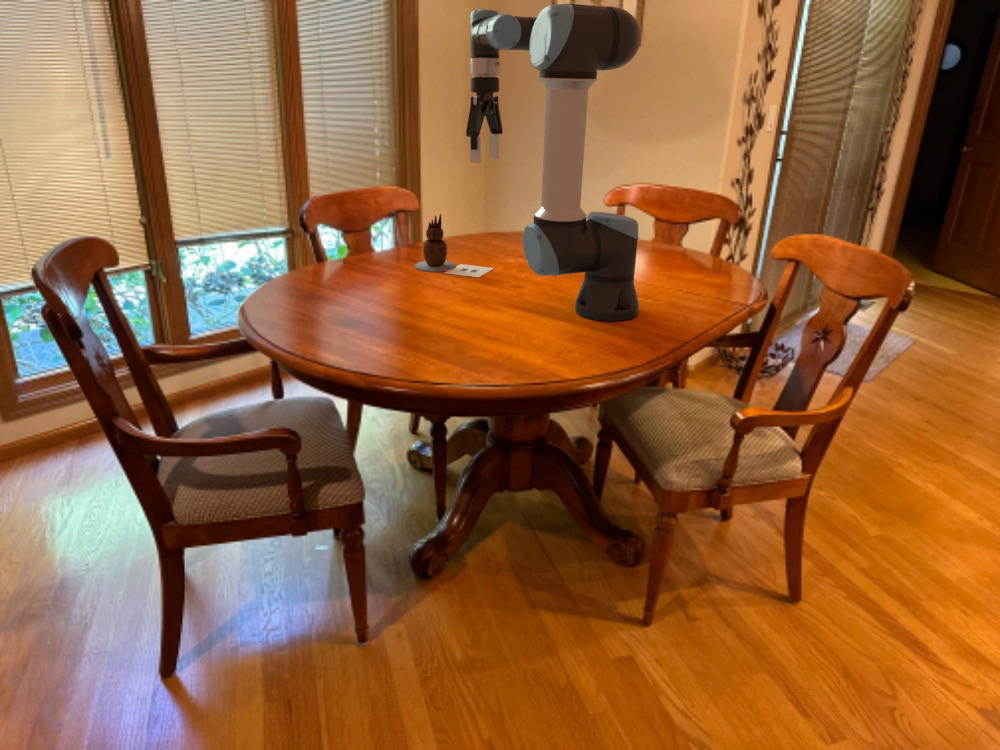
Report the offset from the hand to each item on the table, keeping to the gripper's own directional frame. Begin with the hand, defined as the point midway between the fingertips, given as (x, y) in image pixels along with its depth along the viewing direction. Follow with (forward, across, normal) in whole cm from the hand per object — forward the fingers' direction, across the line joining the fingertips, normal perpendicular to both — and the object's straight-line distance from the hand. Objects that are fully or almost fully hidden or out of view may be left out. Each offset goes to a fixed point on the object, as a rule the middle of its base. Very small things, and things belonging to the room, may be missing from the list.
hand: (485, 160), depth 189 cm
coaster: (+30, -3, +15) cm, 34 cm away
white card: (+30, -4, +4) cm, 31 cm away
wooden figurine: (+30, -3, +14) cm, 33 cm away
